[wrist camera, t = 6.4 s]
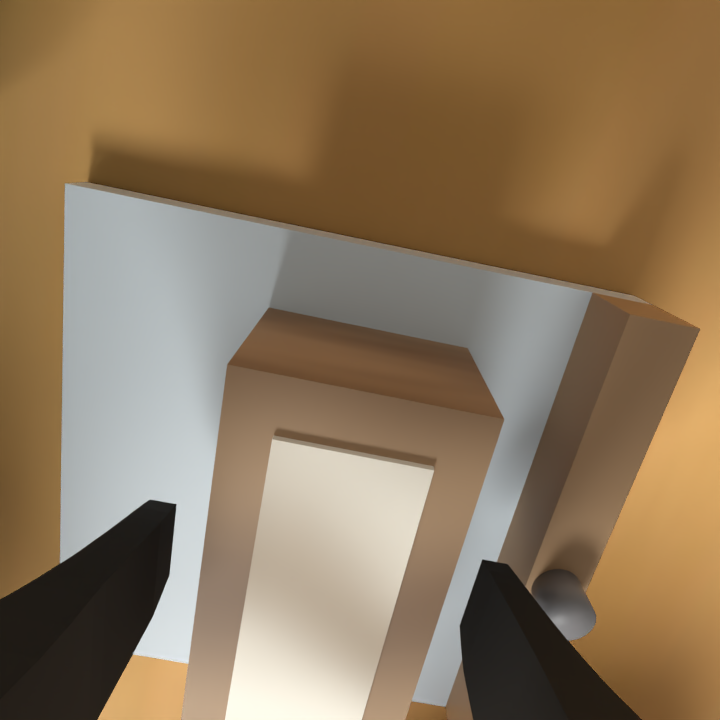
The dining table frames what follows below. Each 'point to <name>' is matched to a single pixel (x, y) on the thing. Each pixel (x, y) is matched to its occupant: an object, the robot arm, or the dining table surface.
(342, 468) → the frame
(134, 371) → the wall panel
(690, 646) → the dining table surface
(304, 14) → the dining table surface
